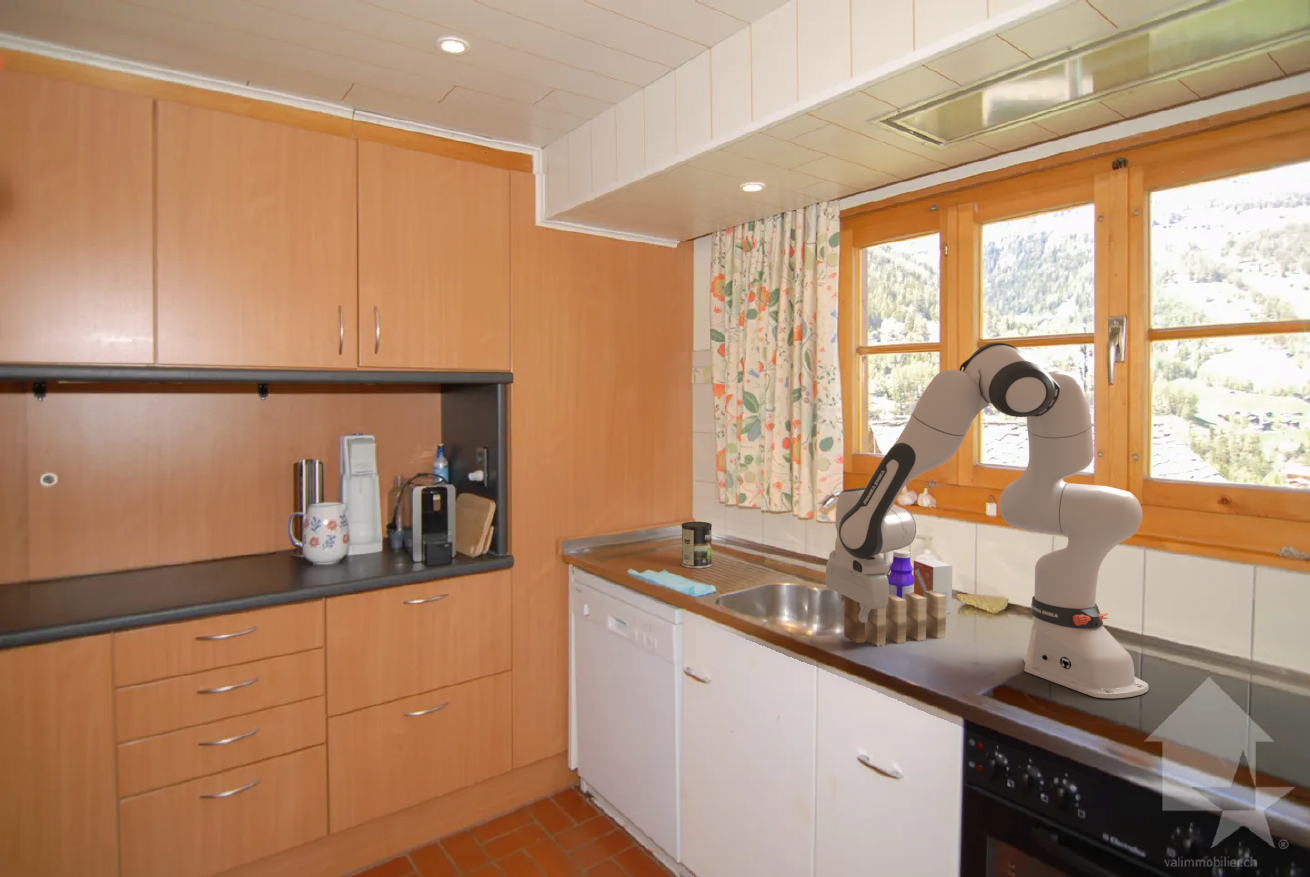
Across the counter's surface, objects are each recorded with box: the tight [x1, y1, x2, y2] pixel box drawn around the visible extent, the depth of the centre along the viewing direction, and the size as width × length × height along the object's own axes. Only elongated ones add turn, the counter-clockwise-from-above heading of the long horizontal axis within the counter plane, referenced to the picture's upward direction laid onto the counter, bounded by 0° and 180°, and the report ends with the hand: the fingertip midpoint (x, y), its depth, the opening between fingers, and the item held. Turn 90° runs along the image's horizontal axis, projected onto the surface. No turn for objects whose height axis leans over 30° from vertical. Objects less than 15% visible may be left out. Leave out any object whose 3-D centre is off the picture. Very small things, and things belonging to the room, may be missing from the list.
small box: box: [912, 558, 953, 615], centre depth 185 cm, size 8×6×13 cm
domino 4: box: [905, 593, 927, 642], centre depth 165 cm, size 5×2×10 cm, turn 17°
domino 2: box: [865, 607, 887, 647], centre depth 161 cm, size 5×2×10 cm, turn 17°
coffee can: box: [681, 521, 713, 569], centre depth 236 cm, size 10×10×14 cm
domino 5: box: [924, 591, 947, 639], centre depth 166 cm, size 5×2×10 cm, turn 17°
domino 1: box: [843, 596, 866, 644], centre depth 159 cm, size 5×2×10 cm, turn 18°
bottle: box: [888, 549, 914, 600], centre depth 178 cm, size 7×6×17 cm
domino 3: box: [886, 595, 907, 644], centre depth 163 cm, size 5×2×10 cm, turn 17°
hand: (854, 617), depth 159 cm, fingers closed on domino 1, 5 cm apart
